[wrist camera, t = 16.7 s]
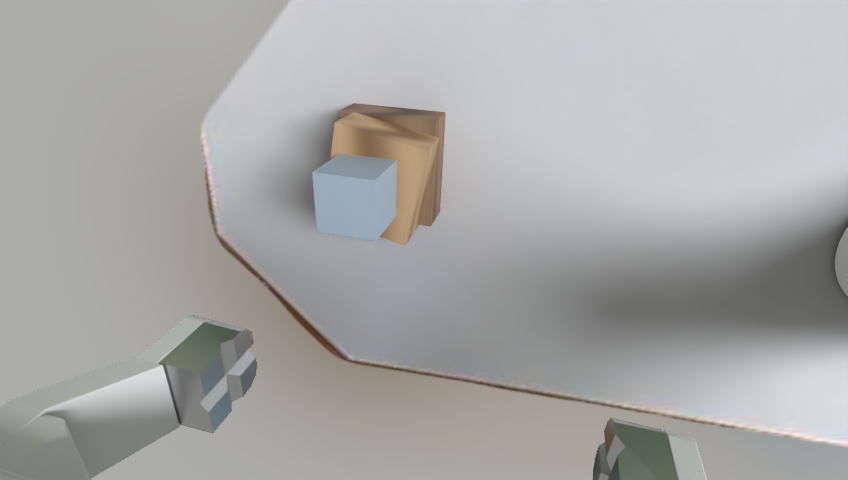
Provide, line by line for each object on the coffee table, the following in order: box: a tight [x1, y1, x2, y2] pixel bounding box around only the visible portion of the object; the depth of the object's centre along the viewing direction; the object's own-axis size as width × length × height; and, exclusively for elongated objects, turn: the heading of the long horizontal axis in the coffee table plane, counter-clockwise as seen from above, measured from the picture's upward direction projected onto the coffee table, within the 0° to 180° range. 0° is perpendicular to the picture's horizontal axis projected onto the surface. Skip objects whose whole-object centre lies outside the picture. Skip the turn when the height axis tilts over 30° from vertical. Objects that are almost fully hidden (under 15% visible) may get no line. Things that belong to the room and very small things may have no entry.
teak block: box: [330, 112, 439, 245], centre depth 42 cm, size 8×9×4 cm
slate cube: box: [312, 153, 397, 241], centre depth 38 cm, size 5×5×5 cm
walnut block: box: [339, 103, 445, 226], centre depth 45 cm, size 9×10×4 cm
